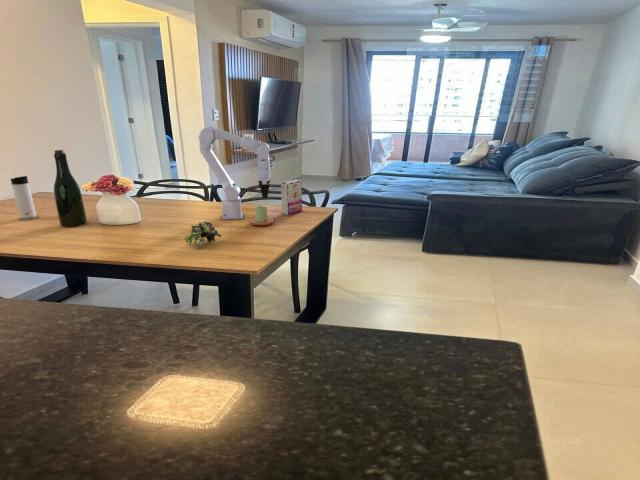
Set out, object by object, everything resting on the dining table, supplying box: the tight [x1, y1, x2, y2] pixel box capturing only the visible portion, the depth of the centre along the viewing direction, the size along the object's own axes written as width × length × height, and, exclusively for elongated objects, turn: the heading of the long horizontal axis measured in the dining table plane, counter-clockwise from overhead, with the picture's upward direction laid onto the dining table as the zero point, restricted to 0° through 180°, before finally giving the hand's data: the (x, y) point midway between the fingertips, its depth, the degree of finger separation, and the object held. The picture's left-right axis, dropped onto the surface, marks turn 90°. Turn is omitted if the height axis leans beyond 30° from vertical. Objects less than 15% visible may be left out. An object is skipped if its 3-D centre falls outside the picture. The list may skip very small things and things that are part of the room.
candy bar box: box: [280, 179, 303, 216], centre depth 196 cm, size 11×5×16 cm, turn 143°
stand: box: [248, 216, 274, 227], centre depth 178 cm, size 11×11×2 cm
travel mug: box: [10, 175, 38, 221], centre depth 177 cm, size 6×7×20 cm
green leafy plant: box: [184, 220, 222, 249], centre depth 148 cm, size 11×11×12 cm
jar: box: [254, 205, 268, 222], centre depth 177 cm, size 5×5×6 cm
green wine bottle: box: [53, 149, 88, 228], centre depth 167 cm, size 10×10×33 cm
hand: (264, 196), depth 186 cm, fingers open, 7 cm apart
